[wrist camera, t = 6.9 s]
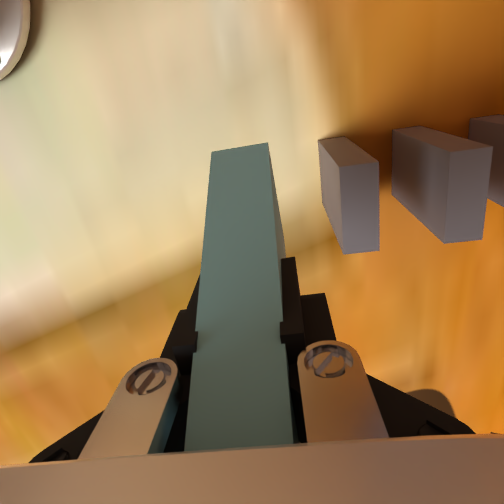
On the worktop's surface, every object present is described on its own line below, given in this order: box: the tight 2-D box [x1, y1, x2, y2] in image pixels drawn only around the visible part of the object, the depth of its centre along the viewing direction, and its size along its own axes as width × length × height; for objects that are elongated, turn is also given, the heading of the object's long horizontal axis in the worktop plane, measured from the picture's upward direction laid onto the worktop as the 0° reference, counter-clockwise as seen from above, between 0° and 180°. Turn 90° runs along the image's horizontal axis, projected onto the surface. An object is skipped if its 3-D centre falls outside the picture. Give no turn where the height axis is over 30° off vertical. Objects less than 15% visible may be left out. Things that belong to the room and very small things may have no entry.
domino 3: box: [392, 126, 493, 244], centre depth 24 cm, size 2×5×10 cm, turn 8°
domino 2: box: [318, 136, 379, 254], centre depth 24 cm, size 2×5×10 cm, turn 8°
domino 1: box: [184, 143, 300, 451], centre depth 11 cm, size 2×5×10 cm, turn 10°
